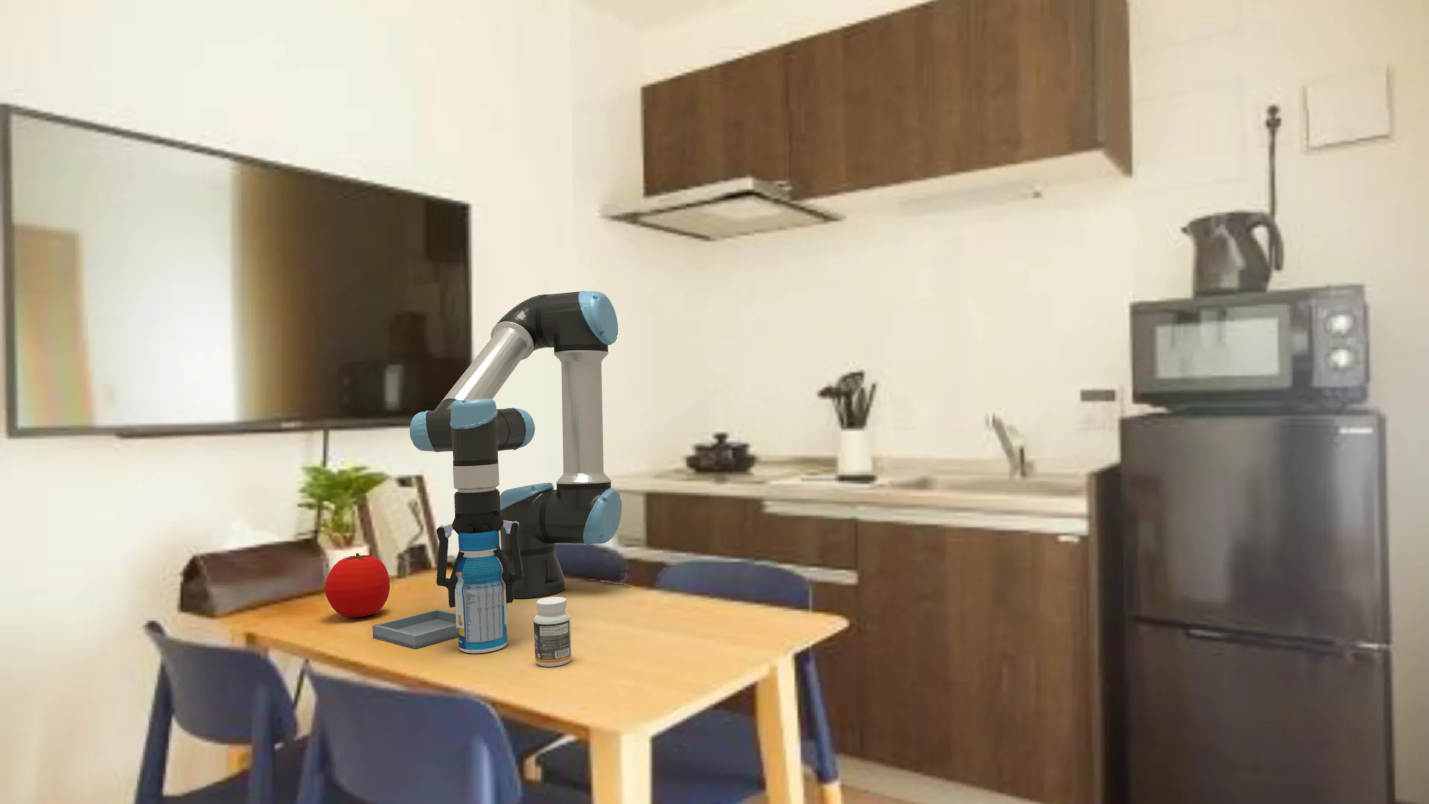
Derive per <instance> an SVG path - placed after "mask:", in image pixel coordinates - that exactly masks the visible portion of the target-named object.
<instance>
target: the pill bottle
mask: <svg viewBox="0 0 1429 804" xmlns="http://www.w3.org/2000/svg"><path fill="white" fill-rule="evenodd" d="M566 609H567V598H565V597H561V596H550V597H543V598H540V599H537V601H536V610H537V612H538V613H537V614H536V615H535V616H534V618H533V631H534V633H533V634H534V635H533V637H534V659H535V660H534V661H535V664H537V666H540V667H544V668H545V667H547V668H549V667H550V668H552V667H559V666H564V665H566V664H568V663H569V662H571V660H572V636H571V635H572V633H571V631H572V630H571V615H570V614H569V613H568V612H567V611H566Z"/></svg>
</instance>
